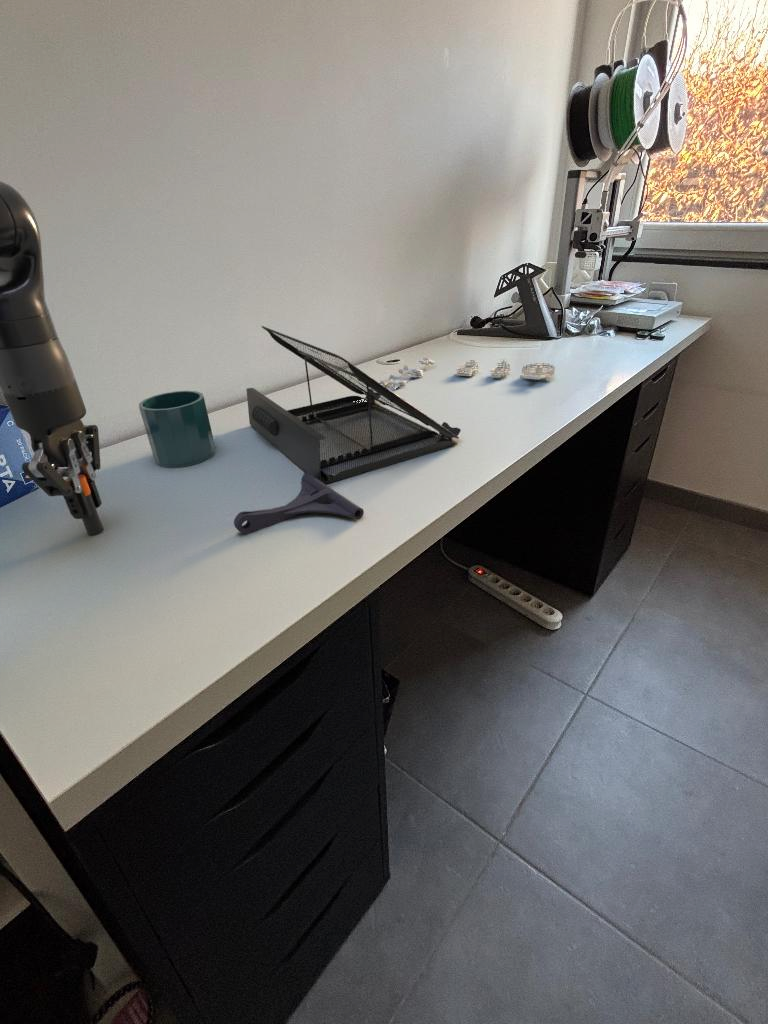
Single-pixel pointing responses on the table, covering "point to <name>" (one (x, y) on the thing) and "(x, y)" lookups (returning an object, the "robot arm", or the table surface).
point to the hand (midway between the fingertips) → (88, 511)
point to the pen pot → (178, 428)
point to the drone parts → (470, 369)
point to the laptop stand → (305, 440)
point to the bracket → (300, 506)
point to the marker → (93, 522)
